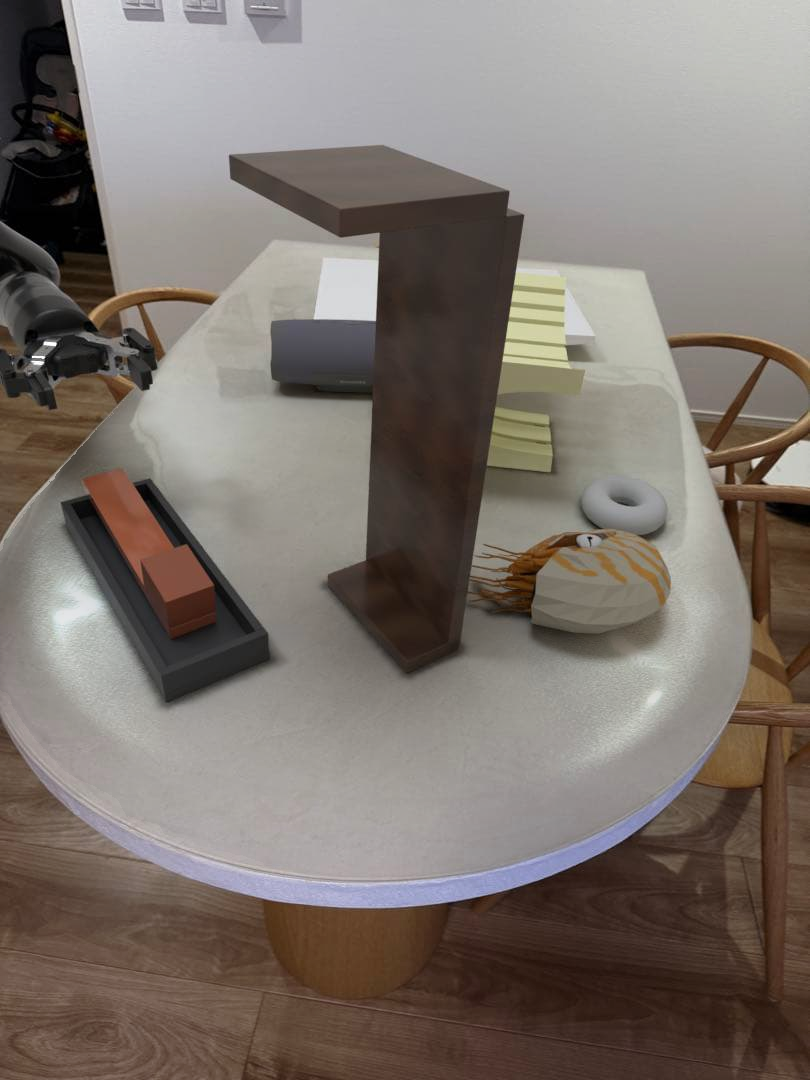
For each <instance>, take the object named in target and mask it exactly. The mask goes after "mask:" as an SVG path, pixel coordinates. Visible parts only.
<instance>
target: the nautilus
mask: <svg viewBox="0 0 810 1080" xmlns="http://www.w3.org/2000/svg"><path fill="white" fill-rule="evenodd" d="M482 545H483V546H485V547H489V548H490V549H495V550H498V551H501V552H504V553H508V555H507V554H503V553H498V555H496V554H495V555H494V554H492V553H491V554H490V553H484V552H481V554H483V555H485V556H483V555H477V554H473V557H476V558H480V559H486V560H487V559H492V558H494V559H501V560H504V561H508V562H511V563H510V564H509V565H508V566H507V567H506V566H505V567H499V568H491V567H486V566H480V565H474V564H472V566H471V568H476V569H481V570H486V571H490V573H506V574H507V573H508V574H511V575H507V576H506V577H505V578H499V579H498V578H497V577H496V579H491V578H488V577H481V576H475V575H471V574H470V580H469V582H473V583H477V584H475V586H476V588H477V589H478V590H479V591H480V592H475V591H469V590H468V593H467V594H470V595H475V596H476V595H477V596H482V597H483V596H484V598H477V599H472V600H468V602H469V603H473V602H479V601H494V602H496V603H497V604H499V605H501V606H504V607H510V608H505V609H499V610H495V611H491V613H498V612H504V611H505V612H506V611H516V612H519V613H525V612H526V613H531V618H530V622H529V624H532V625H538V626H542V627H546V628H551V629H555V630H561V631H565V632H569V633H573V634H575V633H576V634H598V635H599V634H603V633H605V632H609V631H613V630H616V629H620V628H624V627H628V626H631V625H634V624H636V623H638V622H641V621H642V620H644V619H645V618H647V617H649V616H650V615H652V614H654V613H655V612H657V611H658V610H660V609H661V608H662V607H663V606H664V605H665V604H666V602H667V601H668V599H669V597H670V595H671V589H672V588H671V587H672V586H671V585H672V577H671V574H670V571H669V569H668V566H667V565H666V563H665V561H664V558H663V557H662V555H661V553H660V551H659V550H658V549H659V548H658V547H657V545H655V544H654V543H652V542H650V541H648V540H646V539H645V538H643V537H642V536H640V535H635V534H632V533H630V532H625V531H620V530H615V529H603V528H601V529H591V530H588V531H565V532H562V533H560V534H555V535H552V536H549V537H548V538H546V539H543V540H542V541H540V542H538V543H536V544H535V545H534V546H532V547H530V548H529V549H527V550H526V551H525V552H524V551H523V552H514V551H510V550H507V549H504V548H500V547H497V546H494V545H490V544H486V543H482ZM510 557H513V558H510ZM476 579H477V580H476ZM482 580H483V581H482ZM485 581H487V582H485ZM489 582H491V583H489ZM492 583H495V584H492ZM478 584H482V585H486V586H489V587H492V588H502V589H505V590H508V591H505V592H500V591H496V590H490V589H488V588H487V589H486V588H483V587H481V586H479V585H478ZM486 592H488V593H486ZM485 597H488V598H485ZM495 597H497V598H495ZM499 597H500V598H499ZM514 598H522V599H521V600H510V599H514ZM502 601H507V602H509V603H511V604H508V603H505V602H502ZM514 607H515V608H514ZM516 607H519V608H520V607H521V608H524V609H522V610H521V609H516Z"/></svg>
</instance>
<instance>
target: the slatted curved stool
mask: <svg viewBox="0 0 810 1080" xmlns="http://www.w3.org/2000/svg"><path fill="white" fill-rule="evenodd" d="M566 286H567V277H566V276H561V277H557V276H547V275H536V274H526V273H516V275H515V281H514V288H513V295H512V301H511V308H510V315H509V321H508V328H507V334H506V341H505V348H504V354H503V361H502V368H501V374H500V381H499V387H498V394H497V396H499V395H503V394H511V393H512V394H513V393H551V394H552V393H553V394H555V393H556V394H568V395H581V390H582V386H583V382H584V378H585V374H586V369H579V368H578V369H577V368H572V366H571V364H570V362H569V358H568V353H567V347H566V346H567V345H566V342H565V327H564V324H565V312H564V309H565V296H564V295H565V288H566ZM551 433H552V432H551V427H550V415H549V414H545V413H536V412H527V411H521V410H514V409H509V408H504V407H499V406H496V407H495V414H494V421H493V427H492V434H491V440H490V447H489V454H488V460H487V467H497V468H507V469H515V470H523V471H524V470H525V471H535V472H544V473H551V472H552V464H553V457H554V454H553V445H552V436H551V435H552V434H551Z"/></svg>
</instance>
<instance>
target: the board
mask: <svg viewBox="0 0 810 1080" xmlns="http://www.w3.org/2000/svg"><path fill="white" fill-rule="evenodd" d="M378 260H379V259H377V260H376V259H359V258H358V259H357V258H341V257H340V258H339V257H338V258H337V257H322V263H321V270H320V277H319V281H318V288H317V294H316V302H315V306H314V307H315V308H314V312H313V319H334V320H366V321H376V307H377V283H378ZM516 273H526V274H536V275H547V276H557V277H562V276H561V274H560V273H559V271H558V270H557V269H544V268H526V267H525V268H523V267H517V268H516ZM564 296H565V309H564V312H565V324H564V327H565V342H566V345H565V346H575V345H576V346H577V345H592V344H595V341H596V334H595V333H594V331H593V329H592V327H591V326H590V324H589V322H588V321H587V319H586V317H585V316H584V314H583V311H582V310H581V309H580V307H579V305H578V303H577V302H576V300H575V299H574V297H573V295H572V293H571V291H570V290H569V288H568V287H567V285H566V288H565V295H564Z"/></svg>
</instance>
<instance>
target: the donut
mask: <svg viewBox="0 0 810 1080" xmlns="http://www.w3.org/2000/svg"><path fill="white" fill-rule="evenodd" d="M580 504H581V508H582V512H583V513H584V515H585V516H586V517H587V519H589V520H590V522H592V523H593V524H595V526H597V527H599V528H601V529H615V530H620V531H625V532H630V533H632V534H635V535H637V536H645V535H648V534H650V533H653V532H656V531H657V530H658V529H659V528H660V527H662V525H664V524H665V522H666V520H667V516H668V512H669V506H668V504H667V502H666V498H665V497H664V495H662V493H661V492H660V490H658V488H656V487H655V486H653V485H651V484H650V483H648V482H647V481H644V480H642V479H640V478H637V477H632V476H630V475H629V476H628V475H621V474H611V475H610V474H609V475H604V476H603V475H602V476H600V477H597V478H595V479H592V481H590V482H588V484H586V485H585V486H584V488H583V491H582V493H581V495H580Z"/></svg>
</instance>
